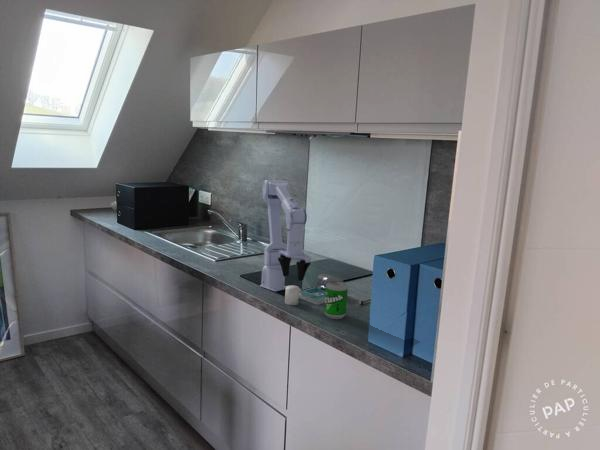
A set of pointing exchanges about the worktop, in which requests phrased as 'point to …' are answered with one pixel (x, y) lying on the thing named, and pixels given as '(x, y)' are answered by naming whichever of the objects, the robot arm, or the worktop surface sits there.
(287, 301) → the grey rounded piece
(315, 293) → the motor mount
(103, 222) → the worktop surface
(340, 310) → the soda can
